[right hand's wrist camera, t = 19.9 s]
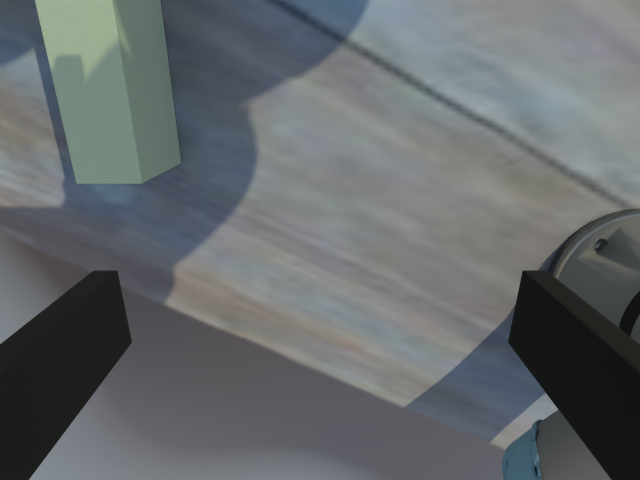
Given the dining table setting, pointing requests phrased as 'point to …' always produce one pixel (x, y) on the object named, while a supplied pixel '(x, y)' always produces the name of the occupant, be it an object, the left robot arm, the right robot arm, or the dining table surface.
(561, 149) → the dining table surface
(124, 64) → the sage box
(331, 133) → the dining table surface
